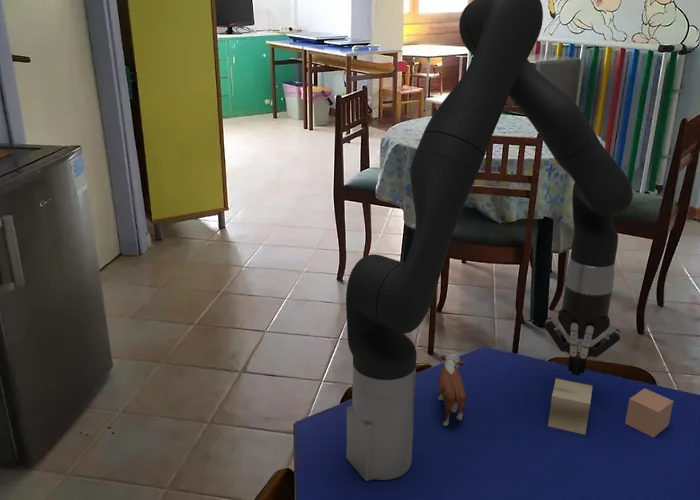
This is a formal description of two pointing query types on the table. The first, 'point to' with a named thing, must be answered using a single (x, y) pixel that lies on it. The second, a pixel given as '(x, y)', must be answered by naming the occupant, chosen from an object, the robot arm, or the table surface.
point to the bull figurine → (452, 387)
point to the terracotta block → (649, 412)
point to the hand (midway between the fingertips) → (575, 373)
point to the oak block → (570, 406)
